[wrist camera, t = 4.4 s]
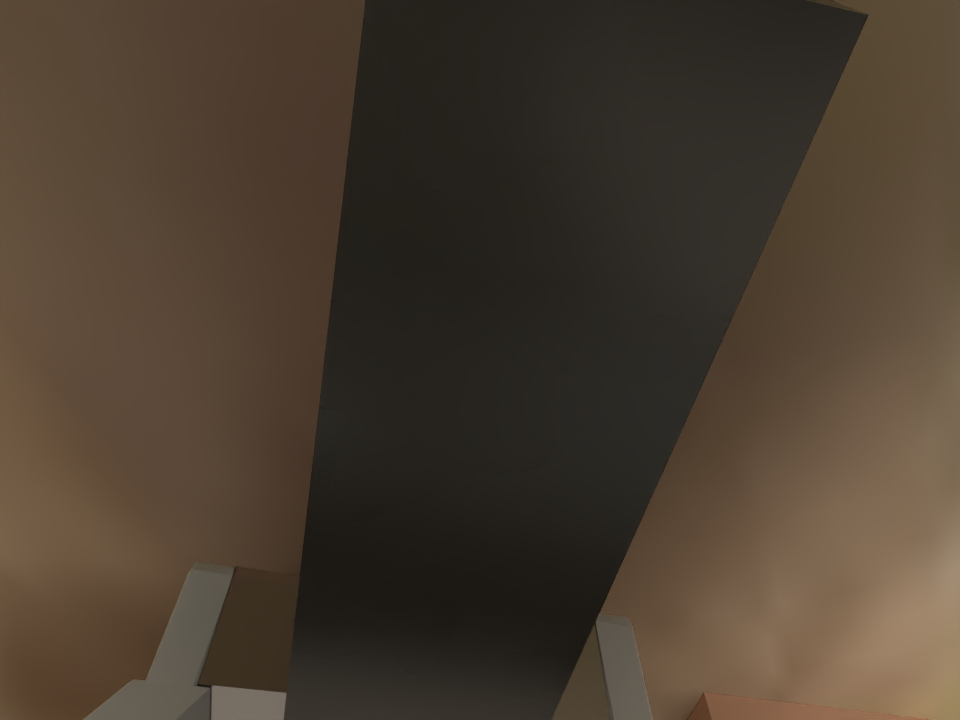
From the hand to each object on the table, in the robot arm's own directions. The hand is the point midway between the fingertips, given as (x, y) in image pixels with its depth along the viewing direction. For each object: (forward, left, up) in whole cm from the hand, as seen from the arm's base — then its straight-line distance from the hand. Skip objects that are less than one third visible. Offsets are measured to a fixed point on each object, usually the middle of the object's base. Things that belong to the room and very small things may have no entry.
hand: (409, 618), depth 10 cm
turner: (+1, 0, -2) cm, 2 cm away
